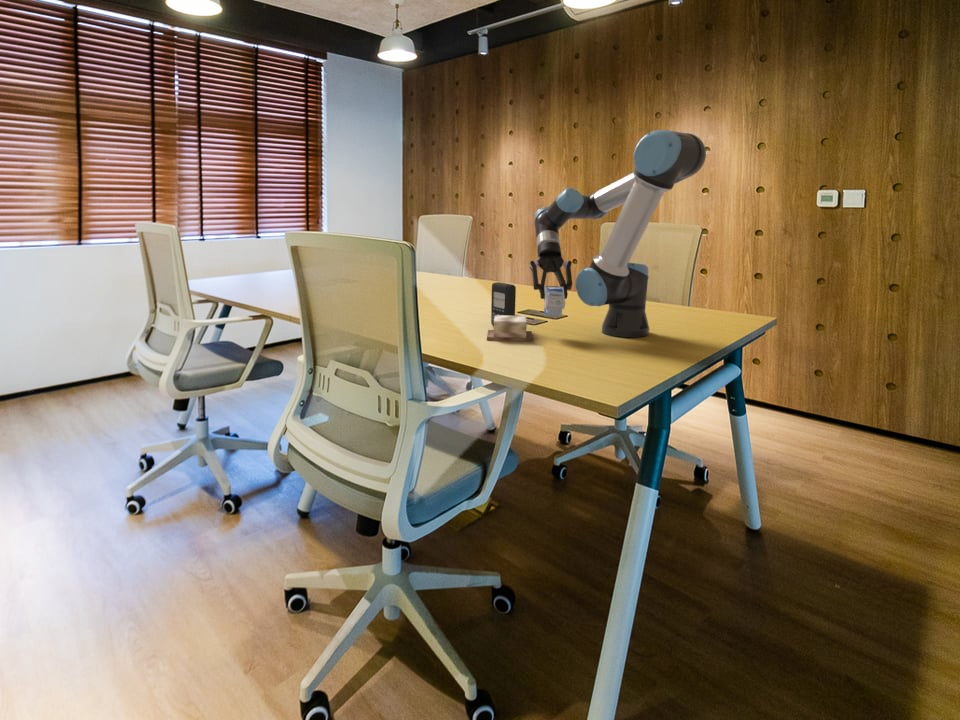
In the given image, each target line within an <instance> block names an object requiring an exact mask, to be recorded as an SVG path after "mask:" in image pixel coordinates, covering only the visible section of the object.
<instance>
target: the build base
mask: <svg viewBox="0 0 960 720" xmlns="http://www.w3.org/2000/svg"><path fill="white" fill-rule="evenodd" d="M527 327H528V325H527V316H526V315H515V316H508V315H495V317H494V326H493V329H488V330H487V333H486V341H491V340H507V341H506V342H530V341H532V342H531V343H533V341H534V340H533V339H534V338H533V334H532V333H533V331H531V330H527Z"/></svg>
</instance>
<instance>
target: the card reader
mask: <svg viewBox="0 0 960 720" xmlns="http://www.w3.org/2000/svg"><path fill="white" fill-rule="evenodd" d="M516 291H517V287H516V285H514V284H511V283H506V282H500V281H499V282H493V283H492V284H491V304H490V305H491V312H490V315H491V316H490V318H491V319H490V321H491V322H490V323H491V326H492V327H494V317H495V315H508V316H516V295H517V294H516V293H517V292H516Z"/></svg>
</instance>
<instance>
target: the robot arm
mask: <svg viewBox="0 0 960 720" xmlns="http://www.w3.org/2000/svg"><path fill="white" fill-rule="evenodd" d="M632 158H633V159H634V160H633V165H634V167H635V168H634V170H633V172H631V173H629V174H627V175H625V176H623V177H621V178H619V179H618V180H616V181H614V182H612V183H609V185H606V186H604V187H602V188H600V189H598V190H596V191H595V192H593V193H591V194H587V195H585V194H584V195H583V194H581V192H580V191H579V190H577V189H574V188H573V187H567V188H565V189H564V190H563V191H561V193H560V194H558V196H557V197H556V198H555V199H554V200H553V201H552V203H551V204H550V205H549V206H543V207H542V208H539V209H537V210H536V212H535V214H534V229H535V238H536V249H537V251H536V252H537V260H536V261H534V260H531V261H530V262H529V269H530V271H531V274H532V275H531V276H532V283H533V284H532V287H533V289H534V291H537V290H538V291H539V296H540V299H541V300H543V301H544V302H543V303H544V304H545V309H548V294H547V287H545V286H546V285H545V284H546V279H547V274H548V273H552V274H553V273H554V275H555V276H556V279H557V282H558V283H559V287H560V288H561V289H563V301H562V310H564V309H565V307H566V300H567V298H568V296H569V295H568V293H569V292H568V290H569V291H571V290H572V287H573V277H572V276H573V275H572V268H571V267H572V265H573V264H572V263H573V262H572V261H571V260H568V261H565V260H564V259H563V257H562V249H561V241H560V233H559V230H560V229H561V228H562V226H564V225H565V224H566V223H567V222H568V221H569V220H579V219H581V220H584V219H585V220H597V219H603V218H604V217H606V215H607V214H608V212H610V211H611V210H613V209H616V208H618V207H620V206H622V205H623V206H622V209H621V211H620V212H619V215H618V217H617V219H616V221H615V223H614V225H613V228H612V229H611V232H610V234H609V236H608V238H607V240H606V243H605V245H604V246H603V248H602V251H601V253H600V254H597V255H595V256H593V259H592V260H591V263H590V264H589V266H588V267H586V268H584V269H581V270H580V271H579V272H578V274H577V276H576V279H575V290H576V292H577V296H578V298H579V300H580V301H581V302H583V304H585V305H587V306H589V307H601V306H606V305H608V310H607V313H606V314H605V316H604V319H603V322H602V324H601V332H602V334H605V335H608V336H613V337H618V336H619V337H620V338H641V337H640V336H644V337H647V336H649V335H648V334H650V325H649V321H648V317H647V313H646V304H647V296H648V295H647V293H648V283H649V281H648V280H649V278H650V276H649V267H648V265H646V264H643V263H635V262H630V261H631V258H632V256H633V255H634V253H635V251H636V249H637V246H638V245H639V243H640V241H641V238H643V235H644V233H645V232H646V229H647V227H648V225H649V223H650V221H651V219H652V217H653V215H654V212H656V209H657V208H658V205H659V203H660V201H661V199H662V197H663V195H664V194H665V193H666V192H668V191H672V190H673V187H674V186H675V185H676V184H677V183H679V182H682V181H684V180H686V179H688V178H690V177H692V176H694V175H696V174H697V173H698V172H699V171H700V170H701V169H702V168H703V166H704V164H705V161H706V158H707V150H706V146H705V143H704V142H703V140H701V138H699V137H698V136H697V135H695V134H694V133H693V134H692V133H688V132H679V131H675V130H670V129H656V130H652V131H650V132H648V133H647V134H645V135H643V136H642V138H640V140H639V141H638V142H637V144H636V146H635V148H634V151H633V157H632ZM538 267H539V268H540V269H541V270H542V276H541V280H540V283H539V278H538V277H539V275H538ZM562 267H564V270H565V277H564V275H563V273H562V269H561V268H562ZM565 278H566V279H565ZM646 335H647V336H646Z"/></svg>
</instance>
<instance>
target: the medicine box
mask: <svg viewBox="0 0 960 720" xmlns="http://www.w3.org/2000/svg"><path fill="white" fill-rule="evenodd" d="M544 287H547V294H548V309H545V304H544V305H543V307H544V308H543V313H544V314H545V315H546V316H547V317H548V318H562V316H563V309H562V301H563V289H561V287H560V286H557V285H544Z"/></svg>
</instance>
